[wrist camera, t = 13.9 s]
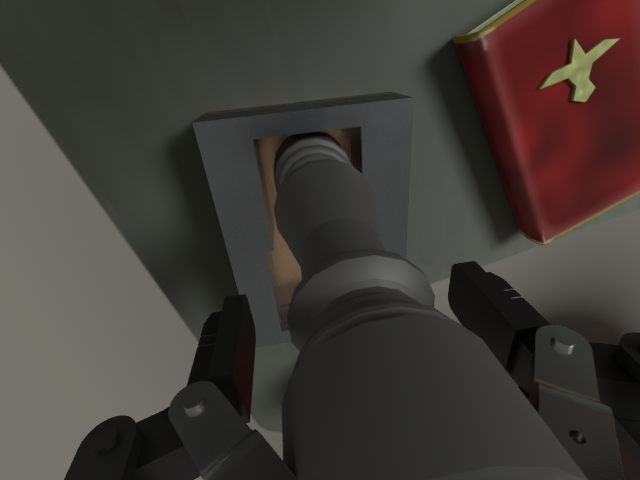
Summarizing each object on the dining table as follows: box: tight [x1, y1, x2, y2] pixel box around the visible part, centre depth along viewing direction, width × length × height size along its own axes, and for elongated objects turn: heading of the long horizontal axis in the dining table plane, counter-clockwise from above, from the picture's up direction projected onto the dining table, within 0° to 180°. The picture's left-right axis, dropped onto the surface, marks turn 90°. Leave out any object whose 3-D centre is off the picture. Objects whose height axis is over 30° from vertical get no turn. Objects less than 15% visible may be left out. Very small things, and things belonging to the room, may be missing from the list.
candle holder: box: [274, 131, 588, 480], centre depth 17 cm, size 6×6×25 cm
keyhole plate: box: [192, 92, 413, 347], centre depth 29 cm, size 15×21×5 cm
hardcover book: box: [453, 0, 640, 245], centre depth 28 cm, size 12×21×4 cm, turn 32°
